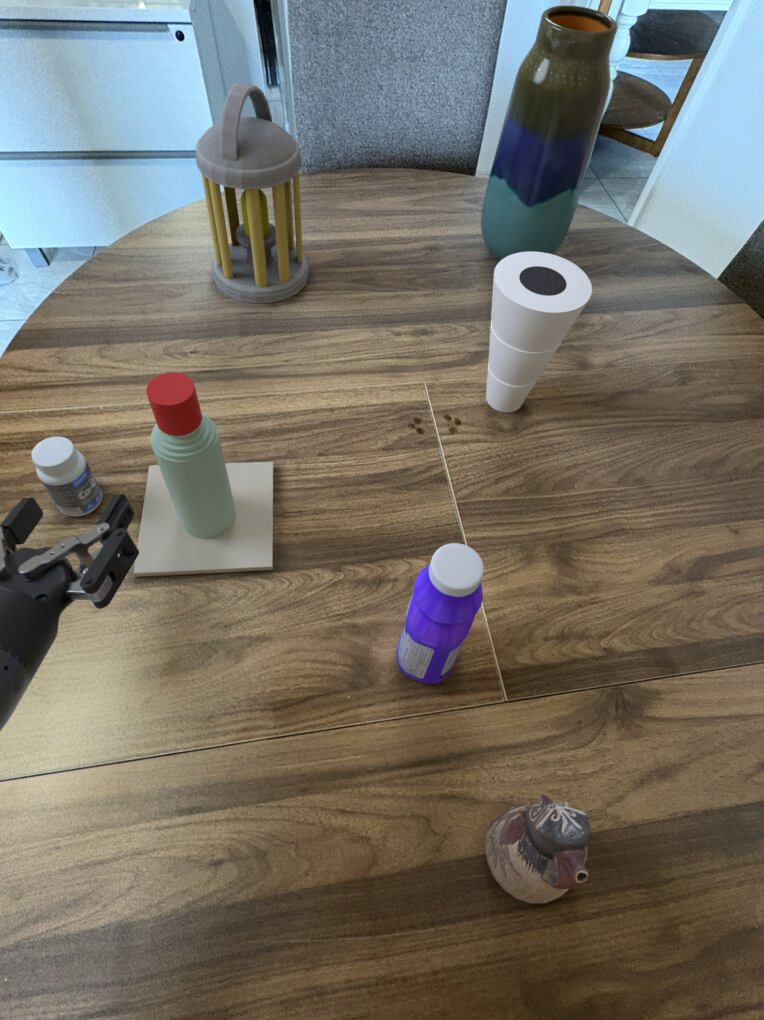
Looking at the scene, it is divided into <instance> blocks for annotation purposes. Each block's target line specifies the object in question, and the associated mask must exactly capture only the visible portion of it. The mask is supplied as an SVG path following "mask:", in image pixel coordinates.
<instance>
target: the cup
mask: <svg viewBox="0 0 764 1020" xmlns="http://www.w3.org/2000/svg"><path fill="white" fill-rule="evenodd" d="M492 282H493V283H492V298H491V313H490V330H489V347H488V348H489V349H488V363H487V374H486V375H487V377H486V391H485V400H486V402H487V404H488V405H489V407H491V409H493V410H495V411H497V412H500V413H507V414H508V413H514V412H516V411H518V410H520V408H521V407H522V406H523V404H524V403H525V401H526V399H527V398H528V396H529V394H530V392H531V391H532V390H533V388H534V387H535V385H536V383H537V381H538V380H539V378H540V376H541V375H542V373H544V370H545V369H546V367H547V366H548V364H549V363H550V362H551V359H552V358H553V357H554V355H555V354H556V352H557V350H558V349H559V347H560V345H561V344H562V343H563V341H564V339H565V338H566V337H567V335H568V334H569V332H570V330H571V329H572V327H573V326H574V324H575V322H576V321H577V319H578V317H579V316H580V315H581V313H582V312H583V310H584V308H585V306H586V305H587V304H588V302H589V300H591V296H592V293H593V286H592V282H591V280H590V278H589V276H588V275H587V273H586V272H585V271H584V270H583V269H581V267H579V266H578V265H576V264H575V263H574V262H572V261H570V260H569V259H566V258H564V257H561V256H559V255H556V254H554V253H553V254H549V253H543V252H520V253H515V254H512V255H509V256H507V257H505V258H504V259H502V260H501V261H500V260H499V262H498V263H497V264H496V266H495V268H494V271H493V281H492Z"/></svg>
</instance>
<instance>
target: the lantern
mask: <svg viewBox="0 0 764 1020" xmlns="http://www.w3.org/2000/svg"><path fill="white" fill-rule="evenodd" d="M248 97H249V98H250V101H251V104H252V108H253V111H254V115H255V116H242V112H243V108H244V105H245V103H246V100H247V98H248ZM195 162H196V167H197V169H198V171H199V172H200V174H201V177H202V184H203V185H202V186H203V191H204V197H205V203H206V208H207V213H208V220H209V225H210V231H211V238H212V243H213V249H214V255H215V257H214V259H213V260H212V261H211V262H212V276H213V281H214V282H215V284H216V286H217V288H218V289H219V290H220V291H222V292H223V293H224V294H225V295H227V296H228V297H231V298H233V299H235V300H237V301H240V302H244V303H245V302H246V303H251V304H266V303H267V304H269V303H270V304H271V303H275V302H279V301H283V300H287V299H289V298H291V297H293V296H294V295H296V294H298V293H299V292H301V290H302V289H304V287H306V284H307V282H308V280H309V277H310V275H309V271H310V270H309V263H308V259H307V257H306V255H305V254H304V253H303V232H302V211H301V209H302V208H301V207H302V206H301V188H300V187H301V185H300V184H301V183H300V170H301V168H302V155H301V149H300V145H299V143H298V141H297V140H296V138H295V137H294V136H293V135H292V134H290V133H289V132H288V131H287V130H286V129H284V128H283V127H282V126H280V125H278V124H276V123H275V122H273V117H272V113H271V108H270V105H269V102H268V100H267V97H266V95H265V93H264V91H263V90H262V89H261V88H259V87H258V86H257V85H255V84H252V83H247V82H244V81H242V82H241V81H240V82H238V83H234V84H233V85H232V86H231V87H230V90H229V91H228V92H227V94H226V97H225V101H224V104H223V107H222V111H221V119H220V121H219V122H217V123H215V124H214V125H212V126H210V127H209V128H207V130H205V132H204V133H203V134H202V135H200V138H199V139H198V141H196V145H195ZM221 186H222V188H223V196H224V200H225V201H224V202H225V209H226V216H227V221H228V222H227V224H228V230H229V236H230V243H229V237H228V231H227V224H226V217H225V211H224V204H223V196H222V191H221ZM292 187H293V188H292ZM269 188H271V192H272V206H273V217H274V219H273V220H274V224H272V223H270V221H269V211H268V210H269V209H268V199H267V196H266V194H265V192H264V191H262V190H265V189H269ZM236 189H238V190H243V191H242V193H241V195H240V207H241V216H242V223H241V224H240V217H239V209H238V200H237V195H236ZM292 189H293V196H292ZM292 197H293V198H292ZM293 207H294V208H293ZM293 209H294V215H293ZM293 217H294V218H293ZM294 225H295V227H294ZM294 229H295V236H294Z"/></svg>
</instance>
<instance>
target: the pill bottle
mask: <svg viewBox="0 0 764 1020" xmlns="http://www.w3.org/2000/svg"><path fill="white" fill-rule="evenodd" d="M30 455H31V461H32V462H33V464H34V466H35V467H36V469H35V470H36V475H37V478H38V479H39V481H40V482H41V484H42V486H43V488H44V489H45V490H46V492H47V493H48V494H49V496H50V498H51V500H52V501H53V503H54V504H55V506H56V508H58V510H59V512H60V513H61V514H63V515H66V516H69V517H75V518H76V517H83V516H86V515H88V514H90V513H92V512H94V511H95V510H96V509H97V508H98V507H99V505H100V504H101V502H102V499H103V491H102V489H101V487H100V485H99V482H98V481H97V479H96V477H95V475H94V473H93V471H92V469H91V467H90V465H89V463H88V461H87V459H86V458H85V456H84V455H83V454H82V453H81V452H80V451H79V450H77V448H76V447H75V445H74V442H72V441H71V439H69V438H67V437H64V436H50V437H47V438H44V439H42V440H41V441H39V442H38V443H37V444H35V446H34V447H33V449H32V450H31V454H30Z"/></svg>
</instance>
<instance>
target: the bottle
mask: <svg viewBox="0 0 764 1020" xmlns="http://www.w3.org/2000/svg"><path fill="white" fill-rule="evenodd" d="M484 573H485V567H484V562H483V559H482V557H481V556H480V555H479V553H478V552H477V551H476V550H475V549H473V548H472V547H470V546H469V545H466V544H463V543H458V542H452V543H447V544H444V545H442V546H440V547H439V548H438V549H436V551H435V552H433V554H432V557H431V559H430V563H429V564H427V565H426V566H425V567H424V568H423V569H421V570H420V572H419V573H418V574H417V575H416V578H415V580H414V581H413V582H414V583H413V592H412V594H411V596H410V599H409V602H408V605H407V610H406V616H405V622H404V626H403V629H402V632H401V635H400V638H399V640H398V644H397V647H396V663H397V666H398V668H399V670H400V672H402V674H404V675H405V676H406V677H407V678H410V679H412V680H414V681H417V682H420V683H422V684H426V685H435V684H439V683H441V682H442V681H444V680H445V679H446V678H447V677H448V676H449V674H450V673H451V671H452V670H453V668H454V665H455V663H456V660H457V659H458V654H459V652H460V651H461V648H462V646H463V643H464V641H465V640H466V638H467V637H468V634H469V632H470V630H471V629H472V626H473V623H474V621H475V617H476V615H477V613H478V612H479V610H480V608H481V606H482V604H483V600H484V595H483V594H484V593H483V592H484V591H483V587H482V583H481V582H482V579H483V577H484Z"/></svg>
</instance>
